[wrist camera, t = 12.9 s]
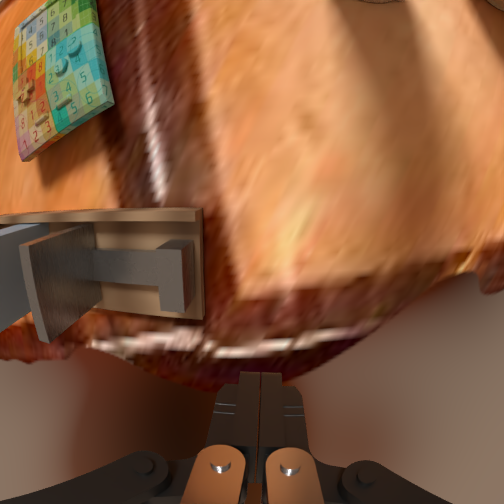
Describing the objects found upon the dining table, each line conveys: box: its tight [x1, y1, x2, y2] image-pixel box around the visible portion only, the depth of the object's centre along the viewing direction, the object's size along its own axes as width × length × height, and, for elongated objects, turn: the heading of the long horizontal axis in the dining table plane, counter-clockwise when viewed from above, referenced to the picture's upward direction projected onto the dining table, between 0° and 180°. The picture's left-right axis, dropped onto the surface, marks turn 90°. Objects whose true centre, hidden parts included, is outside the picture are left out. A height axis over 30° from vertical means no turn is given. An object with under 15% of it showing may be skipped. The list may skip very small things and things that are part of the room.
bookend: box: [19, 224, 195, 343], centre depth 20 cm, size 11×8×9 cm
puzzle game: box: [13, 0, 115, 162], centre depth 19 cm, size 12×5×20 cm
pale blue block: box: [0, 222, 50, 332], centre depth 20 cm, size 4×8×11 cm, turn 178°
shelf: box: [0, 208, 205, 320], centre depth 21 cm, size 27×10×11 cm, turn 89°
